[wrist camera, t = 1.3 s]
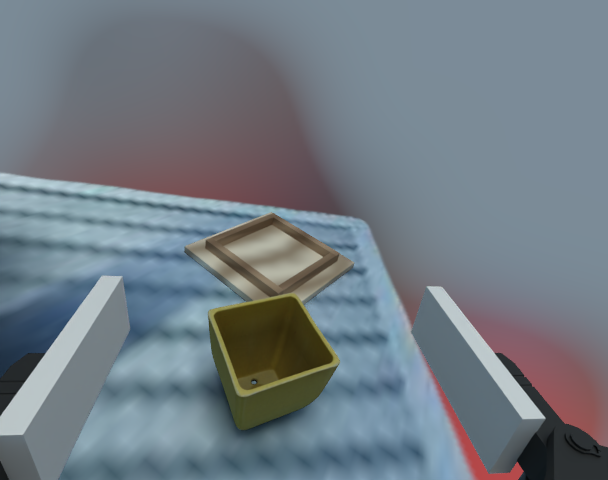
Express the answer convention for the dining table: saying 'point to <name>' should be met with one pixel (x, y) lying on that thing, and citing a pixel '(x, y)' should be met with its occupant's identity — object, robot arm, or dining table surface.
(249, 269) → the birch tray
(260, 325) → the flower pot
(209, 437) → the dining table surface
